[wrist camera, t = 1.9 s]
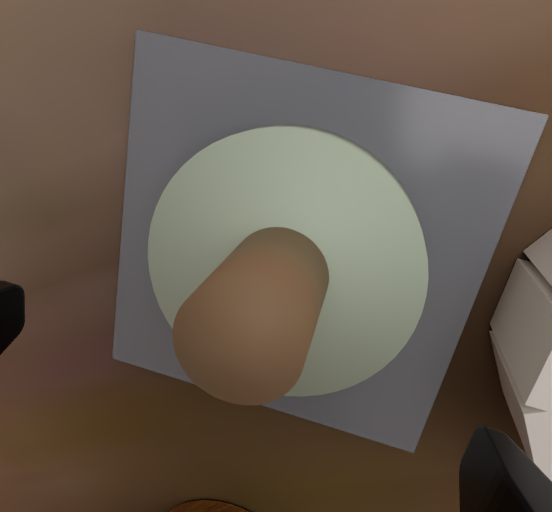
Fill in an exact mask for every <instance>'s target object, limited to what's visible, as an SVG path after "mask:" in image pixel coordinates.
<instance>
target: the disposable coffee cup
mask: <svg viewBox="0 0 552 512" xmlns="http://www.w3.org/2000/svg"><path fill="white" fill-rule="evenodd" d="M168 512H249V511H247V510H245V509H243V508H240V507H237V506H235V505H232V504H229V503H224V502H219V501H212V500H198V501H191V502H186V503H183V504H180V505H177V506H176V507H174V508H173V509H171V510H170V511H168Z"/></svg>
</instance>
